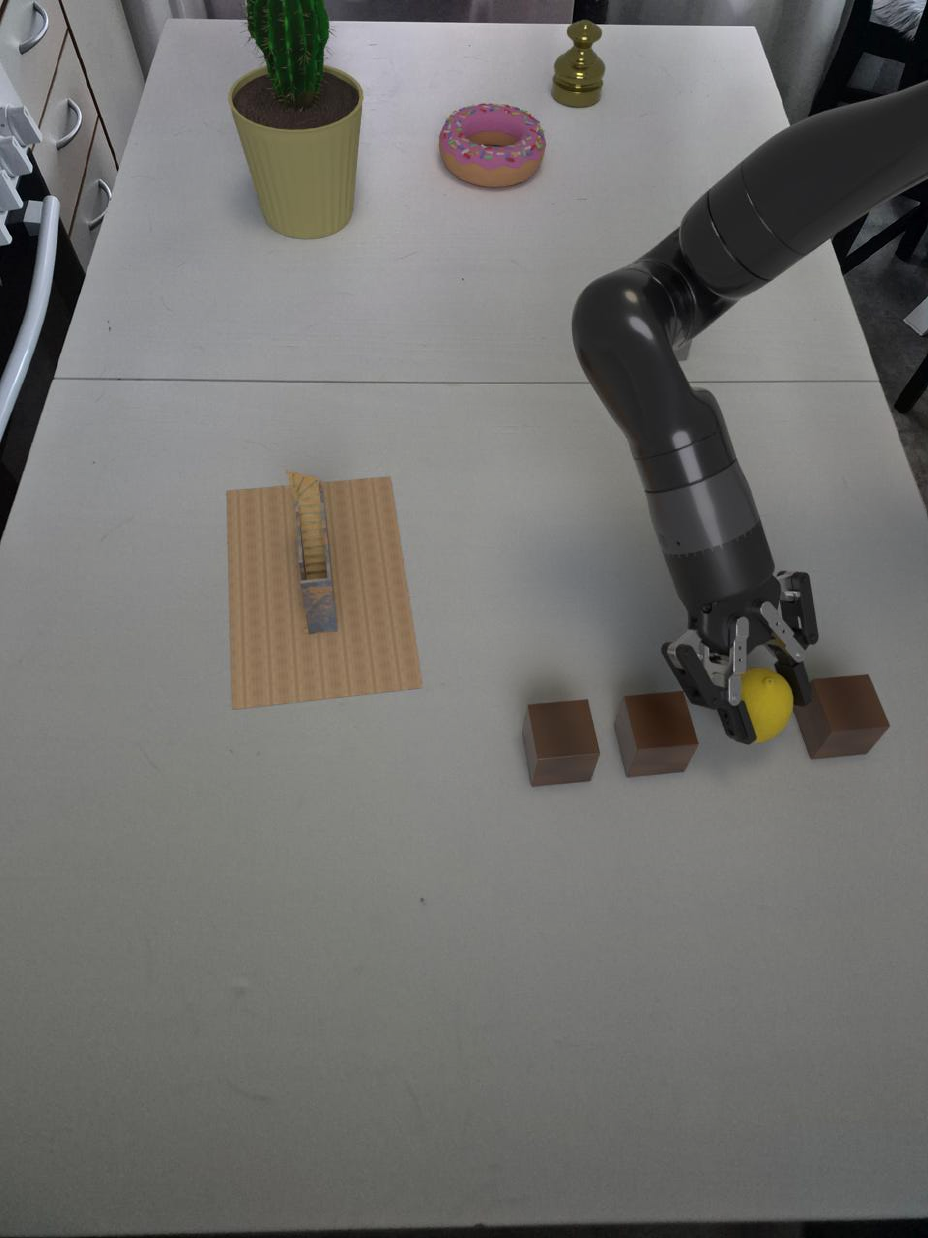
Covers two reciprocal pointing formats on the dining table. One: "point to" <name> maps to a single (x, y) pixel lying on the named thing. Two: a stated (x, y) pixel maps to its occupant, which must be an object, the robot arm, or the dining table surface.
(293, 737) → the dining table surface
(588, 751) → the walnut block
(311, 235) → the potted cactus
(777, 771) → the dining table surface
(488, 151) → the donut
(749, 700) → the lemon
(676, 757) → the walnut block
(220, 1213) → the dining table surface
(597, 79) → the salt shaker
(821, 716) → the walnut block
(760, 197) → the robot arm
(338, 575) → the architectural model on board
